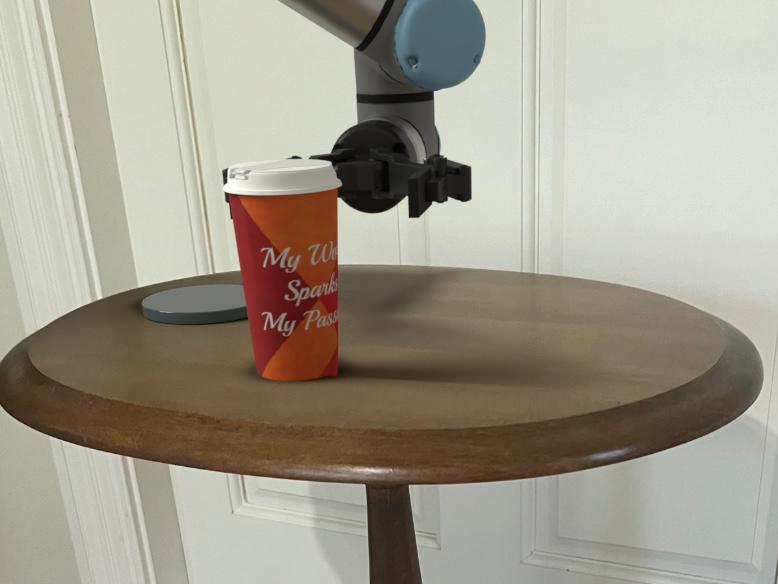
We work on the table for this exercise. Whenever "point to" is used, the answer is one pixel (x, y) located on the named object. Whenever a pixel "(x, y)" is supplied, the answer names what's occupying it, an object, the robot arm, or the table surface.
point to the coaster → (197, 304)
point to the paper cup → (288, 263)
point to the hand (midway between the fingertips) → (321, 199)
